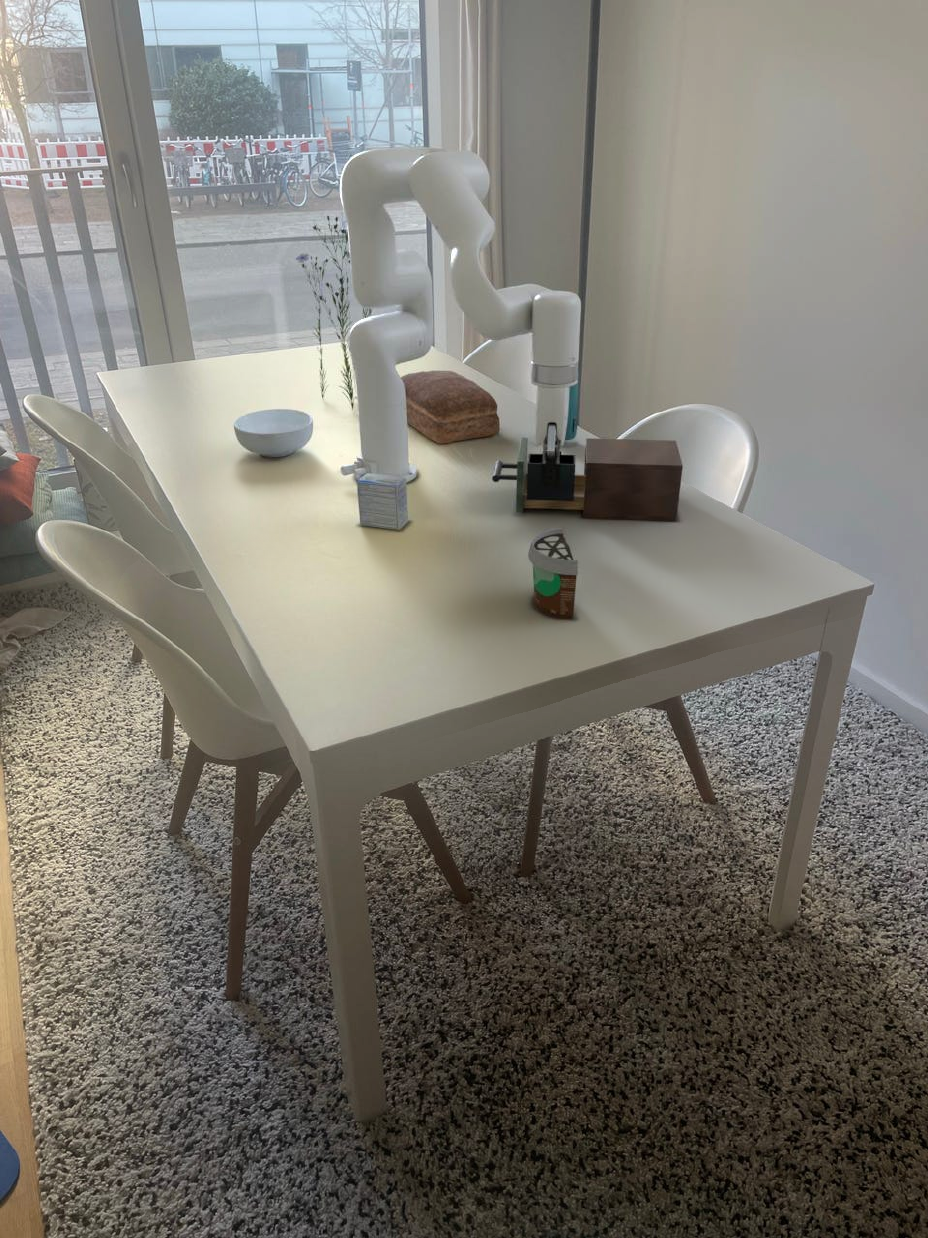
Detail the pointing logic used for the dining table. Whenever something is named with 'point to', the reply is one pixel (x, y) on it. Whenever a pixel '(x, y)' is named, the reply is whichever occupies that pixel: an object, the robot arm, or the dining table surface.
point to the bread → (449, 406)
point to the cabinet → (632, 479)
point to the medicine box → (382, 501)
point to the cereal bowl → (274, 431)
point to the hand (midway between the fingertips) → (550, 478)
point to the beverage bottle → (572, 412)
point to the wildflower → (305, 258)
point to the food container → (553, 574)
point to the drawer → (522, 485)
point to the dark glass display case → (551, 492)
